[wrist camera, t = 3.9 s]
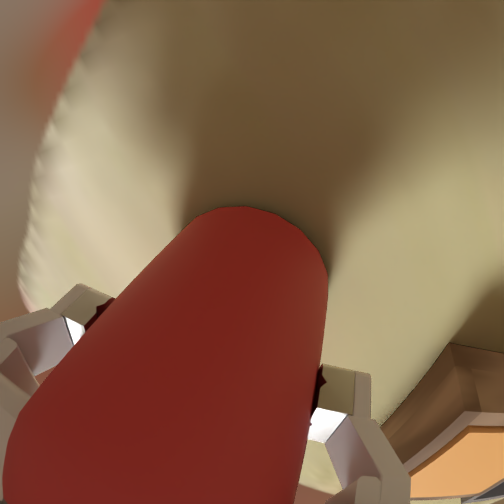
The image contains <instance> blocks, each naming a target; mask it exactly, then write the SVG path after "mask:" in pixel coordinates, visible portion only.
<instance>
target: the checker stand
mask: <svg viewBox="0 0 504 504" xmlns="http://www.w3.org/2000/svg"><path fill="white" fill-rule="evenodd" d="M468 425H477V426H504V354H503V353H498V352H492V351H487V350H482V349H477V348H472V347H467V346H462V345H457V344H452V343H448V345H447V346H446V348H445V349H444V351H443V352H442V353H441V355H440V356H439V358H438V359H437V360H436V362H435V363H434V364H433V366H432V367H431V368H430V370H429V371H428V372H427V374H426V375H425V376H424V377H423V379H422V380H421V381H420V382H419V384H418V385H417V386H416V387H415V389H414V390H413V391H412V392H411V393H410V395H409V396H408V397H407V398H406V399H405V401H404V402H403V403H402V404H401V405H400V406H399V408H398V409H397V410H396V411H395V412H394V413H393V414H392V415H391V416H390V418H389V419H388V420H387V421H386V422H385V423H384V424H383V425H382V426H381V427H380V428H381V430H382V432H383V433H384V435H385V437H386V438H387V440H388V441H389V443H390V445H391V446H392V448H393V450H394V451H395V453H396V454H397V456H398V458H399V459H400V461H401V463H402V464H403V466H404V468H405V469H406V471H407V473H408V472H410V471H411V470H413V469H414V468H416V467H417V466H418V465H420V464H421V463H422V462H424V461H425V460H426V459H428V458H429V457H430V456H432V455H433V454H434V453H436V452H437V451H438V450H439V449H441V448H442V447H443V446H444V445H446V444H447V443H448V442H449V441H450V440H452V439H453V438H454V437H455V436H456V435H458V434H459V433H460V432H461V431H462V430H463V429H464V428H465V427H467V426H468ZM503 481H504V478H503V479H501V480H500V481H498V482H497V483H495V484H494V485H492V486H490V487H489V488H487V489H485V490H484V491H482V492H480V493H476V494H467V495H457V496H443V497H413V498H410V500H438V499H452V498H463V497H472V496H480V495H481V494H483V493H485V492H487V491H488V490H490V489H492V488H493V487H495V486H496V485H498V484H500V483H501V482H503Z"/></svg>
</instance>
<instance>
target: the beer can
mask: <svg viewBox="0 0 504 504" xmlns="http://www.w3.org/2000/svg"><path fill="white" fill-rule="evenodd" d="M327 301H328V274H327V271H326V269H325V266H324V263H323V261H322V258H321V256H320V253H319V251H318V250H317V249H316V247H315V246H314V245H313V244H312V243H311V242H310V240H309V239H308V238H307V237H306V236H305V235H304V233H303V232H302V231H301V230H300V229H299V228H297V227H295V226H294V225H292V224H291V223H289V222H287V221H286V220H284V219H283V218H281V217H279V216H278V215H276V214H274V213H270V212H266V211H263V210H259V209H255V208H251V207H248V206H242V207H220V208H217V209H214V210H212V211H209V212H207V213H204V214H202V215H200V216H197V217H196V218H195V219H194V220H193V221H192V222H191V223H189V224H188V225H187V226H186V227H185V228H184V229H183V230H182V231H181V232H180V233H179V234H178V235H177V236H176V237H175V238H174V239H173V240H172V241H171V242H170V243H169V244H168V245H167V246H166V247H165V248H164V249H163V250H162V251H161V252H160V253H159V254H158V255H157V256H156V257H155V258H154V259H153V260H152V261H151V262H150V263H149V264H148V265H147V266H146V267H145V268H144V269H143V271H142V272H141V273H140V274H139V275H138V276H137V277H136V278H135V279H134V280H133V281H132V282H131V283H130V284H129V285H128V286H127V287H126V288H125V289H124V290H123V292H122V293H121V294H120V295H119V296H118V297H117V298H116V299H115V300H114V301H113V302H112V303H111V304H110V306H109V307H108V308H107V309H106V310H105V311H104V312H103V313H102V314H101V315H100V317H99V318H98V319H97V320H96V321H95V322H94V323H93V324H92V325H91V327H90V328H89V329H88V330H87V331H86V332H85V333H84V334H83V336H82V337H81V338H80V339H79V340H78V341H77V342H76V344H75V345H74V346H73V347H72V348H71V349H70V351H69V352H68V353H67V354H66V355H65V356H64V358H63V359H62V360H61V361H60V362H59V363H58V365H57V366H56V367H55V368H54V370H53V371H52V372H51V373H50V374H49V376H48V377H47V378H46V379H45V381H44V382H43V383H42V384H41V385H40V386H39V388H38V389H37V390H36V391H35V393H34V394H33V395H32V396H31V398H30V399H29V401H28V402H27V403H26V404H25V406H24V407H23V408H22V410H21V411H20V412H19V414H18V417H17V419H16V422H15V424H14V427H13V429H12V432H11V434H10V437H9V439H8V443H7V448H6V454H5V460H4V466H3V475H2V486H3V499H2V501H0V504H293V503H294V499H295V495H296V490H297V487H298V482H299V478H300V473H301V469H302V464H303V459H304V454H305V449H306V444H307V439H308V434H309V428H310V423H311V414H312V408H313V402H314V398H315V393H316V383H317V377H318V370H319V367H320V359H321V352H322V344H323V336H324V328H325V319H326V310H327Z"/></svg>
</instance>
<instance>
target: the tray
mask: <svg viewBox="0 0 504 504" xmlns="http://www.w3.org/2000/svg"><path fill="white" fill-rule="evenodd" d="M501 497H504V481H503V482H501V483H500V484H498V485H496V486H495V487H493V488H492V489H490V490H488V491H487V492H485V493H483V494H481V495H480V496H472V497H463V498H461V504H463V503H471V502H478V501H485V500H491V499H496V498H501Z"/></svg>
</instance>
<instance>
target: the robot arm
mask: <svg viewBox="0 0 504 504" xmlns="http://www.w3.org/2000/svg"><path fill="white" fill-rule="evenodd" d="M114 300H115V298H113V297H111V296H109V295H106V294H104V293H102V292H100V291H97V290H95V289H93V288H90V287H88V286H86V285H84V284H77V285H76V286H74V287H73V288H72V289H71V290H70V291H69V292H68V293H67V294H66V295H65V296H64V297H62V298H61V299H60V300H59V301H58V302H57V303H56V304H55V305H54V306H53V307H52V308H51V309H48V308H45V309H42V310H39V311H35V312H32V313H29V314H26V315H23V316H20V317H16V318H13V319H10V320H7V321H4V322H1V323H0V501H2V499H3V486H2V475H3V466H4V460H5V454H6V448H7V443H8V439H9V437H10V434H11V432H12V429H13V427H14V424H15V422H16V419H17V417H18V414H19V412H20V411H21V410H22V408H23V407H24V406H25V404H26V403H27V402H28V401H29V399H30V398H31V396H32V395H33V394H34V393H35V391H36V390H37V389H38V388H39V386H40V385H39V384H38V382H37V380H36V378H35V377H34V376H36V375H38V374H40V373H42V372H44V371H46V370H48V369H50V368H52V367H54V366H56V365H58V363H59V362H60V361H61V360H62V359H63V358H64V356H65V355H66V354H67V353H68V352H69V351H70V349H71V348H72V347H73V346H74V345H75V344H76V342H77V341H78V340H79V339H80V338H81V337H82V336H83V334H84V333H85V332H86V331H87V330H88V329H89V328H90V327H91V325H92V324H93V323H94V322H95V321H96V320H97V319H98V318H99V317H100V315H101V314H102V313H103V312H104V311H105V310H106V309H107V308H108V307H109V306H110V304H111V303H112V302H113V301H114ZM308 439H310V440H314V441H318V442H323V443H325V446H326V449H327V451H328V454H329V456H330V459H331V461H332V464H333V466H334V469H335V471H336V474H337V476H338V479H339V481H340V484H341V486H342V489H343V490H342V491H340V492H339V493H337V494H336V495H334V496H333V497H331V498H330V499H328V500H327V501H326V502H325V504H410V492H411V477H410V476H409V474H408V473H407V471H406V469H405V468H404V466H403V464H402V463H401V461H400V459H399V458H398V456H397V454H396V453H395V451H394V450H393V448H392V446H391V445H390V443H389V441H388V440H387V438H386V437H385V435H384V433H383V432H382V430H381V428H380V427H379V425H378V424H377V422H376V420H374V419H371V375H370V374H368V373H363V372H359V371H353V370H350V369H345V368H340V367H336V366H331V365H327V364H322V365H321V366H320V368H319V370H318V377H317V383H316V393H315V398H314V402H313V408H312V414H311V423H310V428H309V434H308Z"/></svg>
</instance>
